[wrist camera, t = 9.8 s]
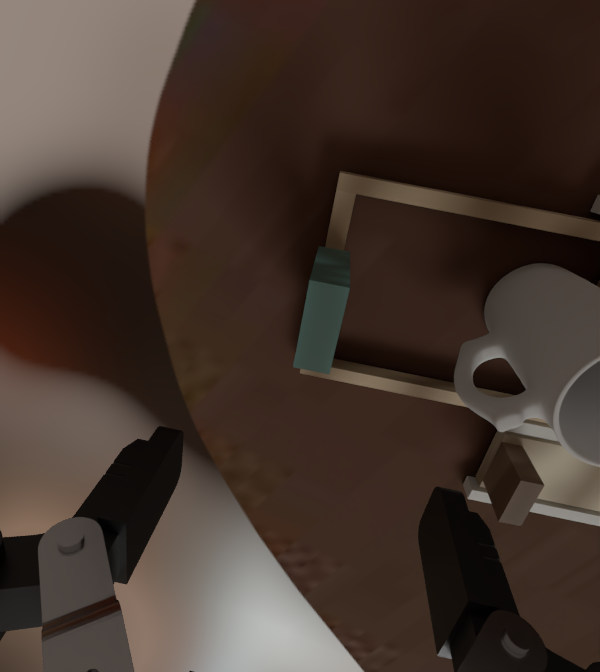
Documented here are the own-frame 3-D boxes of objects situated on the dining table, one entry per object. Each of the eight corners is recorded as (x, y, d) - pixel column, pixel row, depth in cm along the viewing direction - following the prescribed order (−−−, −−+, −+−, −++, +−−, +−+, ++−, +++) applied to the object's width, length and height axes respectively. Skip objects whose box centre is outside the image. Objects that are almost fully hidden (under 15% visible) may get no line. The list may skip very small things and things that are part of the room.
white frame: (646, 229, 26) (769, 269, 18) (548, 413, 32) (609, 500, 24) (333, 169, 26) (327, 183, 19) (296, 362, 32) (280, 432, 25)
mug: (577, 242, 27) (731, 315, 16) (592, 333, 29) (734, 449, 18) (420, 295, 29) (461, 389, 19) (446, 374, 32) (495, 498, 21)
